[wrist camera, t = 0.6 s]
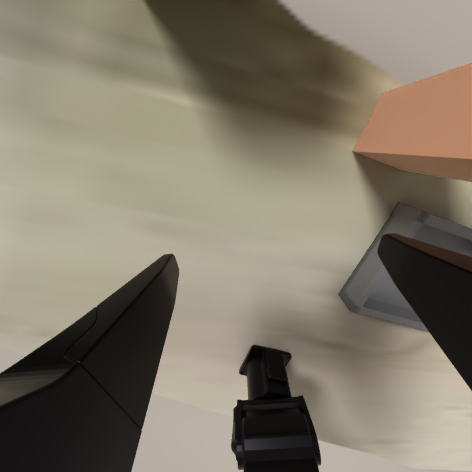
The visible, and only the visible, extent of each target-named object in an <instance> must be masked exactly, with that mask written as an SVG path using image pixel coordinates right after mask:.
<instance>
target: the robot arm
mask: <svg viewBox="0 0 472 472" xmlns="http://www.w3.org/2000/svg"><path fill="white" fill-rule="evenodd" d="M377 253H378V256H379V258H380V260H381V261H382V263H383V265H384V267H385V268H386V270H387V272H388V274H389V275H390V277H391V279H392V280H393V282H394V284H395V285H396V287H397V288H398V290H399V291H400V292H401V294H402V295H403V297H404V298H405V299H406V301H407V302H408V303H409V305H410V306H411V308H412V309H413V310H414V312H415V313H416V315H417V316H418V317H419V319H420V320H421V321H422V323H423V324H424V326H425V327H426V328H427V330H428V331H429V332H430V334H431V335H432V337H433V338H434V339H435V341H436V342H437V343H438V345H439V346H440V348H441V349H442V350H443V352H444V353H445V354H446V356H447V357H448V359H449V360H450V361H451V363H452V364H453V365H454V367H455V368H456V370H457V371H458V372H459V374H460V375H461V377H462V378H463V379H464V381H465V382H466V383H467V385H468V386H469V388H470V389H471V390H472V257H470V256H467V255H463V254H460V253H457V252H454V251H451V250H447V249H444V248H441V247H438V246H434V245H431V244H428V243H425V242H422V241H418V240H415V239H412V238H409V237H406V236H402V235H399V234H396V233H388V234H384V235H382V237H381V240H380V243H379V246H378V249H377ZM178 277H179V268H178V265H177V262H176V258H175V256H174V255H173V254H165V255H163V256H162V257H160V258H159V259H158V260H156V261H155V262H154V263H152V264H151V265H150V266H149V267H147V268H146V269H145V270H143V271H142V272H141V273H139V274H138V275H137V276H135V277H134V278H133V279H132V280H130V281H129V282H128V283H126V284H125V285H124V286H122V287H121V288H120V289H118V290H117V291H116V292H114V293H113V294H112V295H111V296H109V297H108V298H107V299H105V300H104V301H103V302H101V303H100V304H99V305H98V306H97V307H95V308H93V309H92V310H91V311H90V312H88V313H87V314H86V315H84V316H83V317H82V318H80V319H79V320H78V321H76V322H75V323H74V324H72V325H71V326H69V327H68V328H67V329H65V330H64V331H62V332H61V333H59V334H58V335H56V336H55V337H54V338H52V339H51V340H49V341H48V342H46V343H45V344H43V345H42V346H40V347H39V348H37V349H36V350H35V351H33V352H32V353H30V354H29V355H27V356H26V357H24V358H23V359H21V360H20V361H19V362H17V363H16V364H14V365H12V366H11V367H10V368H8V369H6V370H5V371H3V372H2V373H0V472H131V470H132V466H133V462H134V458H135V455H136V451H137V447H138V443H139V439H140V435H141V429H142V427H143V424H144V420H145V416H146V412H147V408H148V404H149V401H150V397H151V393H152V389H153V385H154V382H155V378H156V374H157V370H158V366H159V362H160V359H161V355H162V351H163V347H164V343H165V340H166V336H167V332H168V328H169V324H170V320H171V317H172V313H173V309H174V305H175V299H176V292H177V284H178ZM290 359H291V354H290V353H286V352H282V351H277V350H273V349H269V348H264V347H260V346H255V345H253V346H251V348H250V350H249V352H248V354H247V356H246V358H245V360H244V362H243V364H242V366H241V367H240V369H239V373H240V374H241V375H245V376H247V384H248V400H237V406H236V407H235V408H234V419H233V420H234V421H233V422H234V423H233V433H232V442H231V448H232V451H233V452H234V454H235V455H236V460H237V462H238V469H239V470H243V469H244V472H319V469H318V465H321V456H320V450H319V445H318V440H317V436H316V432H315V429H314V426H313V423H312V420H311V417H310V414H309V411H308V409H307V406H306V403H305V400H304V397H303V396H299V397H291V392H290V388H289V383H288V377H287V372H286V368H285V367H286V366H287V364H288V363H289V361H290Z"/></svg>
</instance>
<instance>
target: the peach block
mask: <svg viewBox="0 0 472 472" xmlns="http://www.w3.org/2000/svg"><path fill="white" fill-rule="evenodd" d="M353 152H356V153H358V154H361V155H364V156H366V157H369V158H371V159H374V160H377V161H379V162H382V163H385V164H387V165H390V166H392V167H395V168H398V169H400V170H403V171H407V172H414V173H420V174H426V175H432V176H438V177H444V178H451V179H457V180H463V181H469V182H472V63H470V64H467V65H464V66H461V67H458V68H455V69H452V70H449V71H446V72H443V73H440V74H438V75H435V76H432V77H429V78H426V79H423V80H420V81H417V82H414V83H411V84H408V85H405V86H402V87H399V88H396V89H393V90H390V91H388V92H385V93H382V95H381V97H380V98H379V100H378V102H377V104H376V106H375V108H374V110H373V112H372V114H371V116H370V118H369V120H368V122H367V124H366V126H365V128H364V130H363V132H362V134H361V136H360V137H359V139H358V141H357V143H356V145H355V147H354V149H353Z"/></svg>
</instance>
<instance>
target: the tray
mask: <svg viewBox="0 0 472 472" xmlns="http://www.w3.org/2000/svg"><path fill="white" fill-rule="evenodd" d="M388 233H396V234H399V235H402V236H406V237H409V238H412V239H415V240H418V241H422V242H425V243H428V244H431V245H434V246H438V247H441V248H444V249H447V250H451V251H454V252H457V253H460V254H463V255H467V256H470V257H472V229H470V228H468V227H465V226H462V225H459V224H456V223H454V222H451V221H448V220H445V219H442V218H440V217H437V216H434V215H431V214H428V213H426V212H423V211H420V210H417V209H414V208H412V207H409V206H406V205H403V204H400V203H398V205H397V206H396V208H395V209H394V211H393V212H392V214H391V215H390V217H389V218H388V220H387V221H386V223H385V225H384V226H383V228H382V229H381V231H380V232H379V234H378V235H377V237H376V238H375V240H374V241H373V243H372V244H371V246H370V247H369V249H368V250H367V252H366V253H365V255H364V256H363V258H362V259H361V261H360V262H359V264H358V265H357V267H356V268H355V270H354V272H353V273H352V275H351V276H350V278H349V279H348V281H347V282H346V284H345V285H344V287H343V288H342V290H341V291H340V293H339V296H340V297H341V299H342V300H343V302H344V303H345V304H346V306H347V307H348V309H349V310H350V311H352V312H356V313H359V314H363V315H367V316H371V317H374V318H378V319H382V320H386V321H390V322H393V323H397V324H401V325H405V326H408V327H412V328H416V329H420V330H423V331H427V332H429V331H428V330H427V328H426V327H425V326H424V324H423V323H422V321H421V320H420V319H419V317H418V316H417V315H416V313H415V312H414V310H413V309H412V308H411V306H410V305H409V303H408V302H407V301H406V299H405V298H404V297H403V295H402V294H401V292H400V291H399V290H398V288H397V287H396V285H395V284H394V282H393V280H392V279H391V277H390V275H389V274H388V272H387V270H386V268H385V267H384V265H383V263H382V261H381V260H380V258H379V256H378V253H377V249H378V246H379V243H380V240H381V237H382V235H384V234H388Z"/></svg>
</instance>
